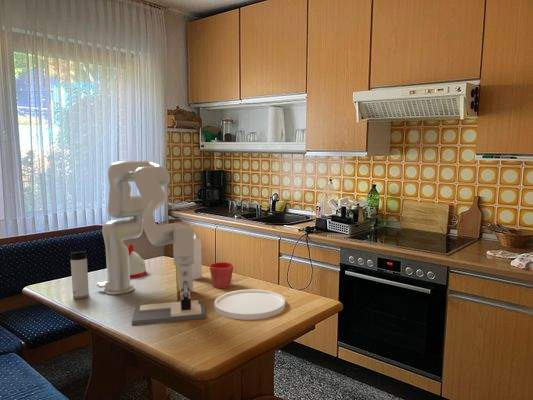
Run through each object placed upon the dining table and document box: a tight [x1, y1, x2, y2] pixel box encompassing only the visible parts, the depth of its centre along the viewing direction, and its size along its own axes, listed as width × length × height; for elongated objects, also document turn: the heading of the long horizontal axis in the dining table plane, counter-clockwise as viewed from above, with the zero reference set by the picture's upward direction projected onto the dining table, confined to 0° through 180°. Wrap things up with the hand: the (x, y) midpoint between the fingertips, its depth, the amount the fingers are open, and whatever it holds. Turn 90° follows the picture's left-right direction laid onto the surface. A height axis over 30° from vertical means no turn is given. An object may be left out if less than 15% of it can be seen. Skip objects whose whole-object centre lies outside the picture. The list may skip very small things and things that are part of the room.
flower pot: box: [208, 261, 234, 289], centre depth 193 cm, size 11×11×10 cm
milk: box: [192, 233, 203, 281], centre depth 205 cm, size 6×6×22 cm
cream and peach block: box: [171, 291, 202, 317], centre depth 158 cm, size 11×8×7 cm
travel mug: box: [69, 250, 90, 300], centre depth 180 cm, size 6×7×20 cm
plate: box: [213, 288, 286, 321], centre depth 168 cm, size 28×28×2 cm
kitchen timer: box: [127, 244, 147, 279], centre depth 213 cm, size 14×14×15 cm
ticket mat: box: [131, 299, 207, 326], centre depth 160 cm, size 26×15×2 cm, turn 102°
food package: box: [175, 265, 191, 302], centre depth 179 cm, size 15×1×20 cm, turn 168°
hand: (185, 305), depth 158 cm, fingers open, 8 cm apart
